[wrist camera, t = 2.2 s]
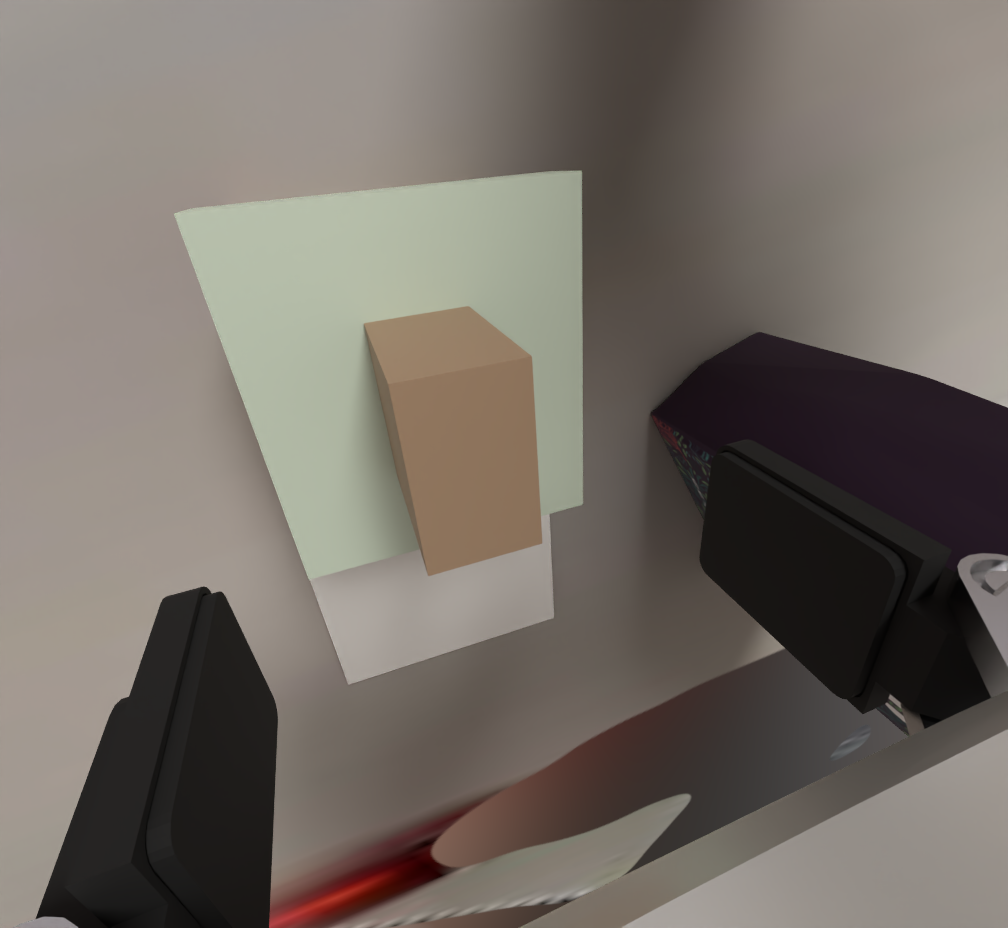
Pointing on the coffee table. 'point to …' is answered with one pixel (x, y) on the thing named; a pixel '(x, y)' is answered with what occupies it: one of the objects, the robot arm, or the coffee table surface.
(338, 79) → the coffee table surface
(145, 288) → the coffee table surface
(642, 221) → the coffee table surface
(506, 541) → the lid
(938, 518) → the dark patterned coffee bag
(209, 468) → the coffee table surface
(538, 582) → the mat
